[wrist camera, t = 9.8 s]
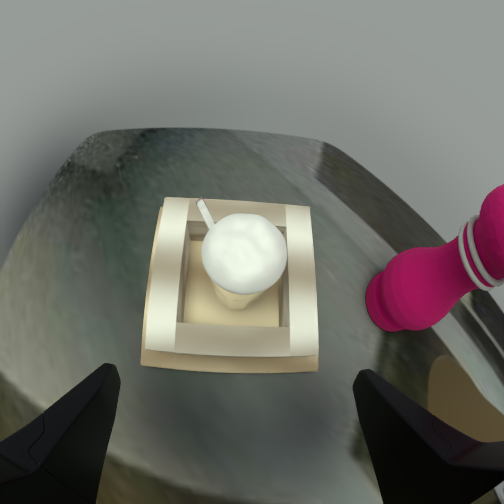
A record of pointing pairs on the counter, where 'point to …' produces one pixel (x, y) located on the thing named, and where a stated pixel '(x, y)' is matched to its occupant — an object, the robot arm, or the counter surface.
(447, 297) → the pepper mill
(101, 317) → the counter surface
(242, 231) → the milkshake
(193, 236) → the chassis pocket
